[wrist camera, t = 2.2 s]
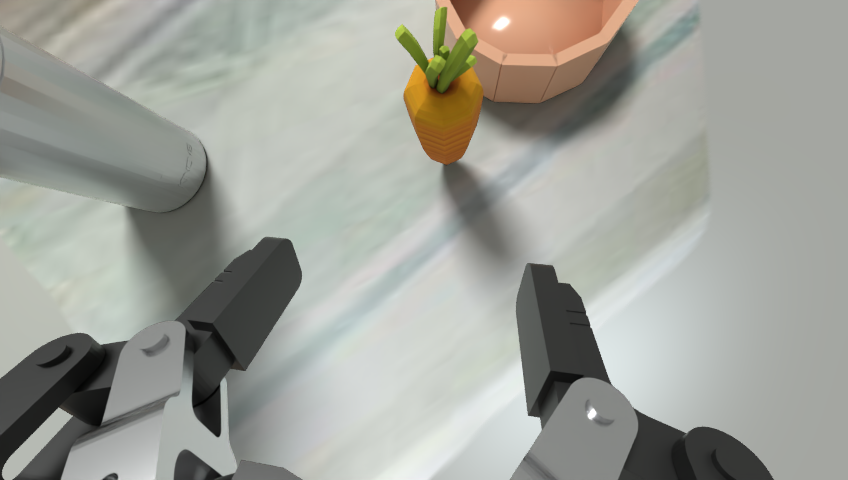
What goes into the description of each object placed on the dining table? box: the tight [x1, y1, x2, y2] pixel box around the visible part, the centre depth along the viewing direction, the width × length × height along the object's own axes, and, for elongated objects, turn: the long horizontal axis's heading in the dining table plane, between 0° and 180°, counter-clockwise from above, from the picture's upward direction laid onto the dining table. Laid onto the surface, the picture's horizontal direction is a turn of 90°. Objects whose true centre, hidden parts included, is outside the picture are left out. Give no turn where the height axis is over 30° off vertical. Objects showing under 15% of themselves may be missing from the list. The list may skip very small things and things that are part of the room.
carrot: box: [395, 7, 484, 165], centre depth 21 cm, size 5×5×15 cm
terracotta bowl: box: [435, 0, 639, 103], centre depth 27 cm, size 16×16×5 cm
